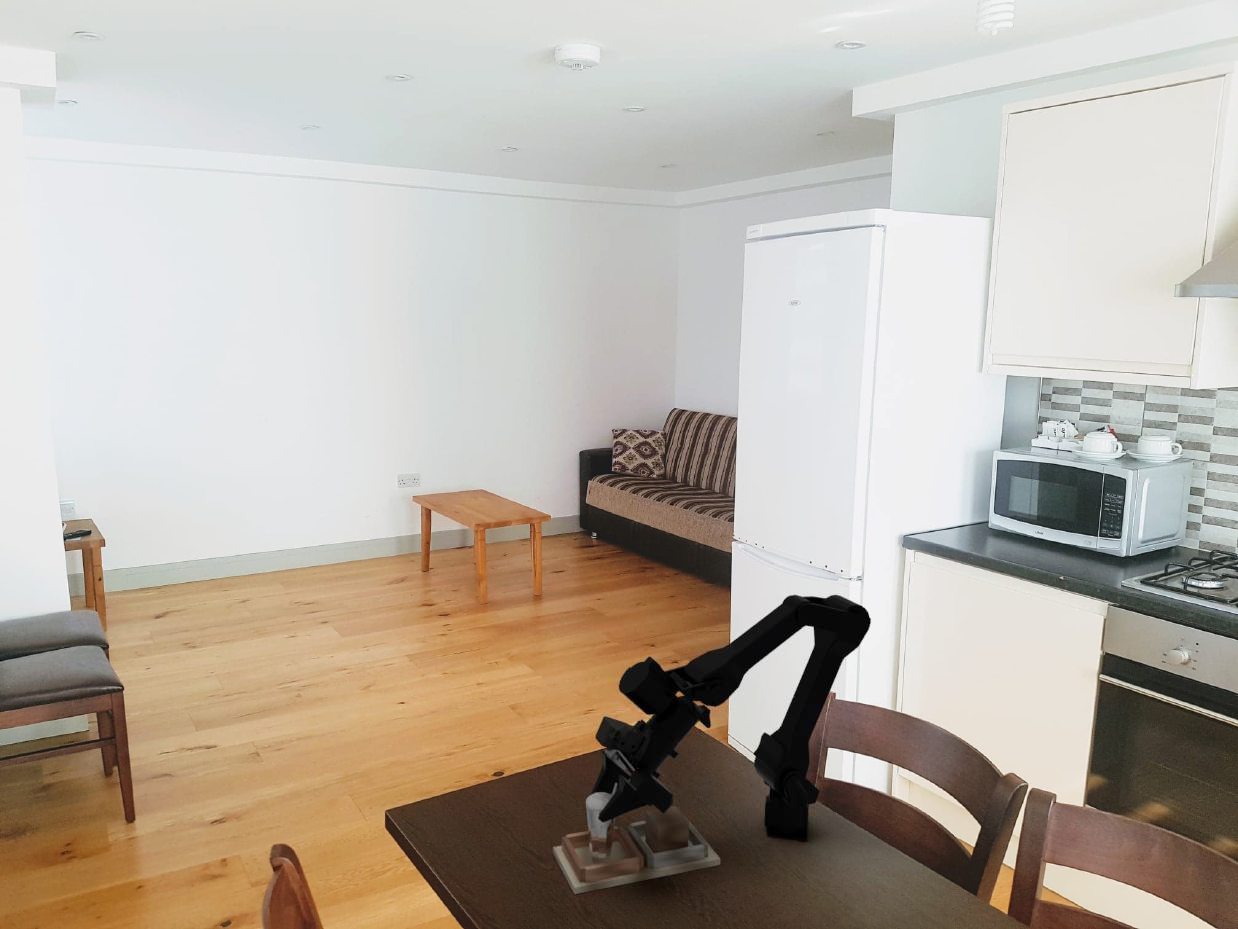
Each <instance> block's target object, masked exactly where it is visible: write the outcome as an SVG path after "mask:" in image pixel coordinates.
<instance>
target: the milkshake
mask: <svg viewBox="0 0 1238 929" xmlns="http://www.w3.org/2000/svg"><path fill="white" fill-rule="evenodd" d="M616 787H617V783H615V785H614V789H613V792H612V793H611V794H608V793H605V792H597V793H594V794H592V795H591V794H590V795H589V796H587V798H586V800H585V808H586V816H587V817H586V818H587V829H588V830H587V831H588V832H589V846H590V853H591V855H592V856H593V857H596V858H606V857H608V856H610V855H611V853H612V845H613V833H614V826H615V820H616V817H615V818H613V819H611V820H608V821H606V822H604V823H603V822H601V821H600V820H599V819H598V817H599V815H600V813H601V812H602V810H603V809H604V807H605V806H606V805H607V803H608V802H609V800H610V799H611V798H612V796H613V795H614V794H615V792H616V791H617V790H616Z"/></svg>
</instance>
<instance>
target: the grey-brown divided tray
mask: <svg viewBox="0 0 1238 929" xmlns="http://www.w3.org/2000/svg"><path fill="white" fill-rule="evenodd" d="M625 828H626V829H625ZM625 828H624V827H623V826H617V825H614V833H613V845H612V853H611V855H610V856H608V857H606V858H596V857H593V856H592V855H591V853H590V846H589V832H588V830H587V831H586V830H585V831H581V832H574V833H569V834H565V836H561V845H557V846H553V847H552V854H553V855H554V856H553V857H555V860H556V862H557V864H558V866H559V868H560V869H561V872H562V873H563V875H564V877H565V879H566V881H567V883H568V885H569V887H570V888H571V890H572V892H573V894H574V895H577V894H583V893H587V892H592V891H598V890H602V889H607V888H613V887H617V886H621V885H628V884H632V883H637V882H642V881H647V880H650V879H656V878H661V877H666V876H667V877H668V876H672V875H677V874H681V873H686V872H692V871H697V870H702V869H706V868H711V867H716V866H720V865H721V858H720V856H719V855H718V854H717V853H716V852H715V850H714V849H713V848H712V846H710V844H709V843H708V842H707V841H706V839H705V838H704V837H703V836H702V834H700V833H699V831H698V830H697V829H696V827H695V826H694V825H693V824H692V823H691V822H690V821H689V820H688V818H687V817H686V816H685V815H684V814H683V813H682V812H681V810H680V809H679V808H678V807H677V806H676V805H674V806H670V808H669V809H668V810H667V811H666V812H665V813H664V814H663V813H662V812H661V811H660V810H659V809H657V808H656V809H653V810H646V811H645V820H642V821H635V822H632V823H631V822H630V824H628V825H626V827H625Z"/></svg>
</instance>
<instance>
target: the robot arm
mask: <svg viewBox="0 0 1238 929" xmlns="http://www.w3.org/2000/svg"><path fill="white" fill-rule="evenodd" d="M871 622H872V619H871V617H870V614H869V611H868V610H867V609H866V608H865V607H864V606H863V605H861V604H859V603H856V602H854V601H852V600H850V599H848V598H846V597H845V596H842V595H838V594H831V595H829V596H828V597H821V596H820V597H819V596H812V595H809V596H801V595H798V594H792V595H791V594H790V595H788V596H786V597H785V598H784V599H783V601H782V603H781V604H780V605H778V606H777V607H775V609H773V610H771V611H769V613H768V614H767V615H765V616H764V617H763V618H761V619H760V620H759V621H757V622H756V623H754V625H752V626H750V627H749V628H748V629H747V630H746V631H744V632H743V633H742V634H741V635H739V636H738V637H737V638H735V639H734V640H733V641H732V642H730V643H728V644H727V645H725V646H723V647H720V648H716V649H712V650H708V651H706V652H704V653H702V654H700V655H698V656H697V657H695V658H693V659H691V660H690V661H689V662H688V663H687V664H685V665H681V666H679V667H674V668H670V669H668V670H664V669H663V668H662V666H661V665H660V663H658V661H656V660H655V659H654V658H653V657H652V656H648V657H647V658H646V659H644V661H638V662H637V663H634V664H633V665H632V666H631V667H630V666H629V667H627V669H626V670H625V671H624V673H623V674H622V675H621V678H620V680H619V683H618V690H619V693H621V694H623V695H624V696H625V697H626V698H627V699H628V700H629V701H630V702H631V703H632V704H634V705H635V706H636V707H637V708H638V709H639V710H641V711H642V712H643V713H644V714H645V715H648V716H651V717H650V718H649V719H648V720H647V721H645V720H643V719H641V720H638V721H637V722H636V723H635V724H633V725H631V724H629V723H627V722H624V721H621V720H619V719H615V718H612V717H609V716H603V718H602V719H601V721H600V724H599V727H598V729H597V731H596V734H595V740H596V741H597V742H598V743H599V745H600V746H602V747H604V748H606V749H605V751H604V750H603V749H602V748H601V749H600V752H599V753H600V755H601V764H602V766H601V769H600V772H599V774H598V776H597V780H596V782H595V784H594V785H593V788H592V790H591V793H590V795H592V794H594V793H597V792H605V793H608V794H610V795H612V792H613V789H614V785H615V783H617V787H616V791H615V794H614V795H613V796H612V798H611V799H610V800H609V802H608V803H607V805H606V806H605V807H604V809H603V810H602V812H601V813H600V815H599V817H598V819H599V820H600V821H601V822H603V823H604V822H606V821H608V820H611V819H613V818H615V819H616V818H617V817H619V816H622V815H624V814H626V813H629V812H631V811H634V810H637V809H640V808H643V807H646V806H648V807H652V806H654V807H655V808H656V810H657V809H659V810H660V811H661V812H662V813H663V814H664V813H665V812H666V811H667V810H668V809H669V808H670V807H672V805H673V804H674V795H673V793H672V792H671V791H670V790H669V788H668V787H667V786H666V785H665V784H664V783H663V782H662V781H660V780H659V778H660V777H661V774H660V773H659V771H658V770H659V768H660V767H661V766H662V765H663V764H664V763H665V762H666V761H667V759H668V758H669V756H671V758H672V759H676V758H677V756H678V755H679V754H680V753H679V752H678V751H677V750H676V748H677V747H678V746H679V744H680V743H682V741H684V739H685V738H686V737H687V735H688V734H689V733H690V732H691V731H692V729H694V728H695V726H696V725H697V724H698V723H699V722H700V723H701V724H702V726H704V727H705V728H707V729H710V728H711V727H712V721H711V709H710V708H708V707H713V708H717V707H719V706H721V705H723V704H725V703H726V702H727V701H728V699H729V698H730V697H731V696H732V695H733V694H734V693H735V692H736V691H737V690H738V689H739V688H740V686H741V684H742V681H743V679H744V677H745V675H746V674H747V673H748V672H749V671H750V670H751V669H752V668H753V667H754V666H755V665H757V664H758V663H759V662H761V661H762V660H763V659H765V658H766V657H768V656H769V655H770V654H771V653H772V652H774V651H776V649H777V648H779V647H780V646H782V644H784V643H785V642H787V641H788V640H789V639H790V638H791V637H793V636H794V635H795V634H797V633H798V632H800V631H801V630H802V629H803V628H805V627H811V628H813V639H814V640H813V642H814V645H813V648H812V650H811V653H810V654H809V655H810V656H809V658H808V660H807V663H806V665H805V667H804V669H803V673H802V674H801V678H800V679H799V682H798V684H797V687H796V689H795V692H794V693H793V697H792V698H791V701H790V703H789V705H788V709H787V710H786V712H785V715H784V718H783V719H782V722H781V725H780V726H779V728H777V729H776V730H775V731H774V732H772V733H771V734H769V733H767V732H763V733H762V734H761V736H760V740H759V744H758V746H757V748H756V749H755V750H754V751H753V754H752V755H753V756H755V757H754V761H753V766H754V769H755V771H756V773H757V775H758V776H759V777H760V778H761V779H762V781H763V784H765V785H766V786H768V787H769V794H768V795H766V796H765V801H764V820H763V822H764V825H763V826H764V827H765V828H766V837H770V838H771V837H772V838H779V839H786V840H787V839H788V840H795V841H804V842H807V841H808V840H809V812H810V811H809V808H810V805H814V804H816V803H817V800H818V797H819V794H820V789H819V788H817V787H816V786H815V785H814V784H813V783H812V782H811V781H810V780H809V779H808V778H807V777H808V776H807V774H808V771H809V767H810V763H811V761H810V760H811V759H810V740H811V738H812V734H813V732H814V730H815V728H816V725H817V724H818V720H819V718H820V716H821V714H822V711H823V708H824V706H825V703H826V702H827V700H828V697H829V694H830V692H831V690H832V687H833V686H834V683H835V679H836V678H837V675H838V673H839V670H840V668H841V666H842V663H843V662H844V660H845V658H847V657H848V656H849V655H850V654H852V653H853V652H854V651H856V650H857V649H858V648H859V647H860V645H861V643H862V642H863V640H864V639H865V636H866V635H867V634H868V632H869V630H870V626H871V624H872V623H871ZM678 693H681V694H682V695H680V696H678V695H677V694H678ZM696 702H700V703H701V705H700V704H697V703H696ZM628 771H629V772H628Z"/></svg>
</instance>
